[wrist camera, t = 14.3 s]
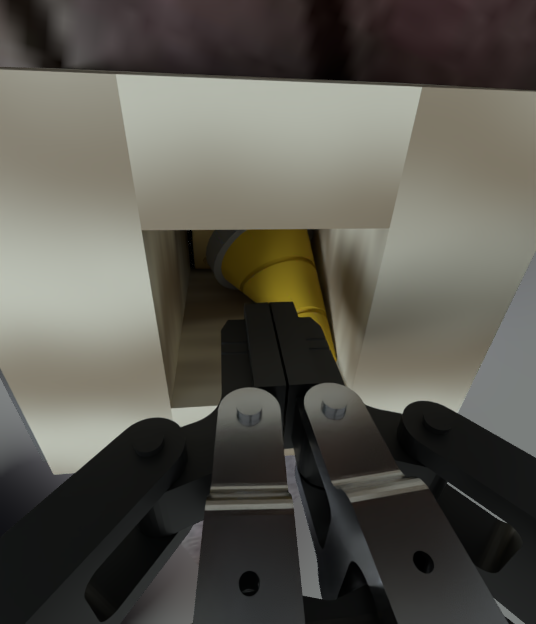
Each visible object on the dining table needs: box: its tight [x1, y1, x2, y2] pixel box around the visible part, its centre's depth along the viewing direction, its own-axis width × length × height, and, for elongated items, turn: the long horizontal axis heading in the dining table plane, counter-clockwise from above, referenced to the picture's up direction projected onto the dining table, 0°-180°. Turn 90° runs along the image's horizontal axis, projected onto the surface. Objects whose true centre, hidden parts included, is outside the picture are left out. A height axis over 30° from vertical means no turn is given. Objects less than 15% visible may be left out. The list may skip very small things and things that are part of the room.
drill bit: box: [206, 229, 337, 362], centre depth 17 cm, size 5×5×10 cm
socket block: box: [0, 67, 536, 475], centre depth 16 cm, size 13×17×11 cm
